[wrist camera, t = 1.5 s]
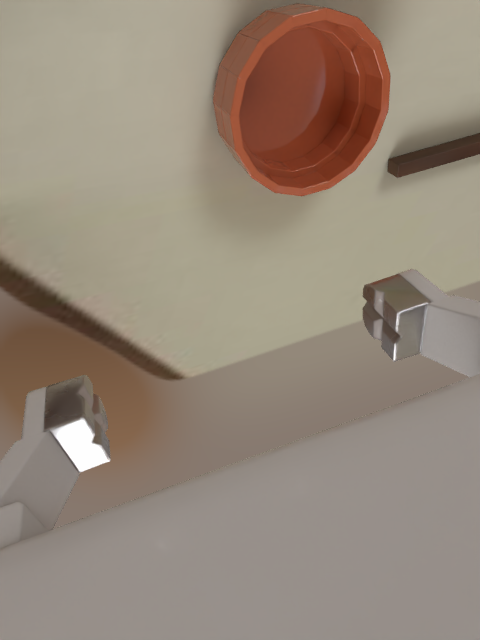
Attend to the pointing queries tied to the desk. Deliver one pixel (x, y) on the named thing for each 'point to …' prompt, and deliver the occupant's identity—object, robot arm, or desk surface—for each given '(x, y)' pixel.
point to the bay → (434, 156)
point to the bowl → (302, 97)
